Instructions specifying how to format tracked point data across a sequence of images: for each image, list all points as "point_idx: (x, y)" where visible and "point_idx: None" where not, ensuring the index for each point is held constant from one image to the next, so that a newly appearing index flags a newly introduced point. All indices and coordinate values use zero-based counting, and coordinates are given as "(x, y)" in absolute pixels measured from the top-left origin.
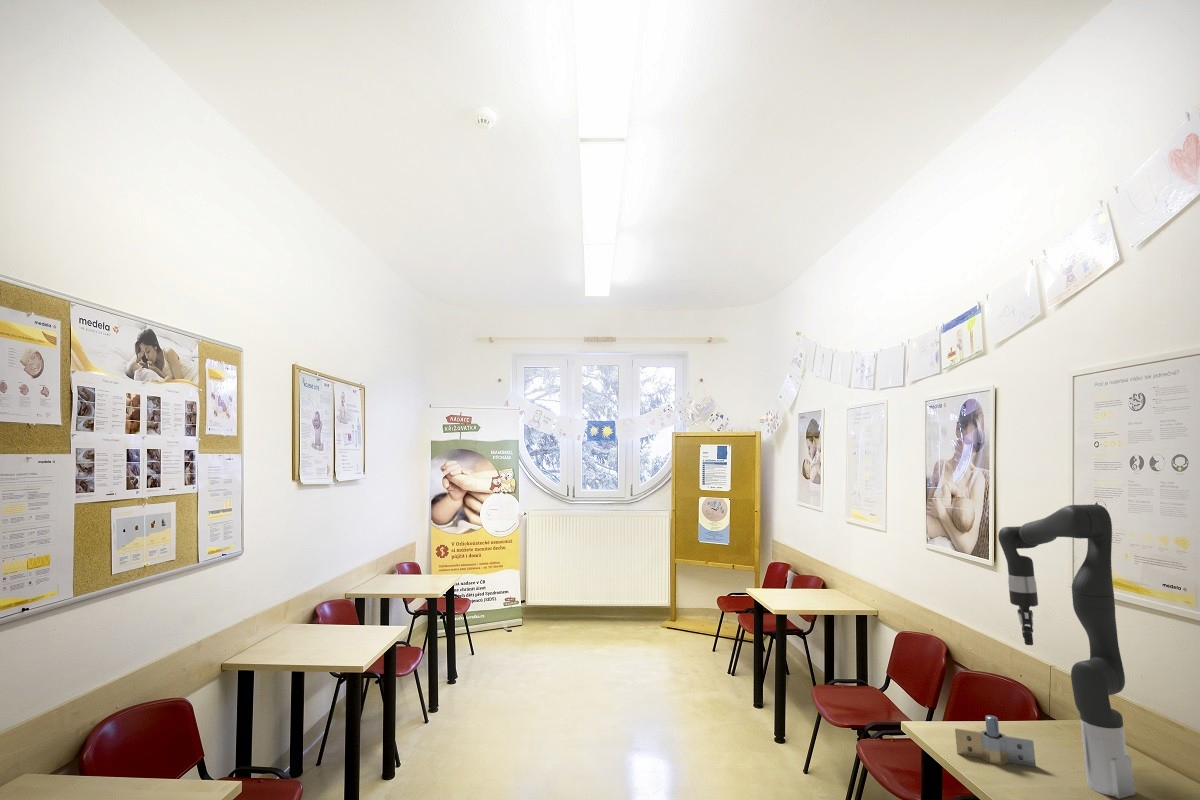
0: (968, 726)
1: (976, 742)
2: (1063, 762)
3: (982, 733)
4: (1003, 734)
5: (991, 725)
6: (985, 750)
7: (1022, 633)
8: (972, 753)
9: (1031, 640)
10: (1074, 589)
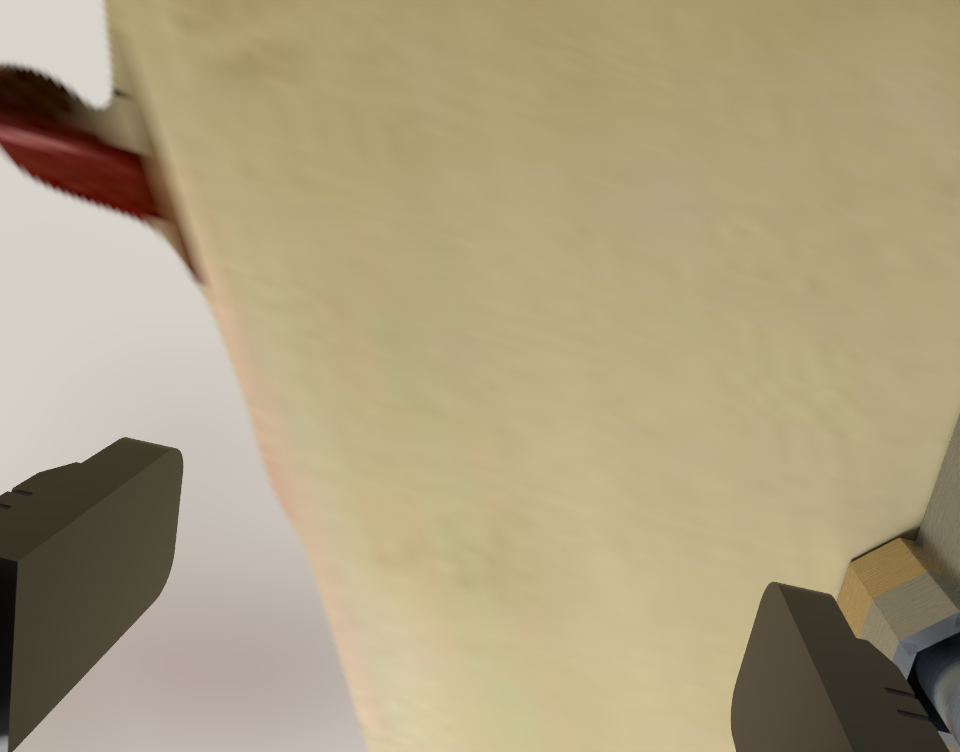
0: (403, 614)
1: None
2: (870, 220)
3: (950, 742)
4: (950, 619)
5: None
6: None
7: (110, 634)
8: None
9: (898, 689)
10: None
